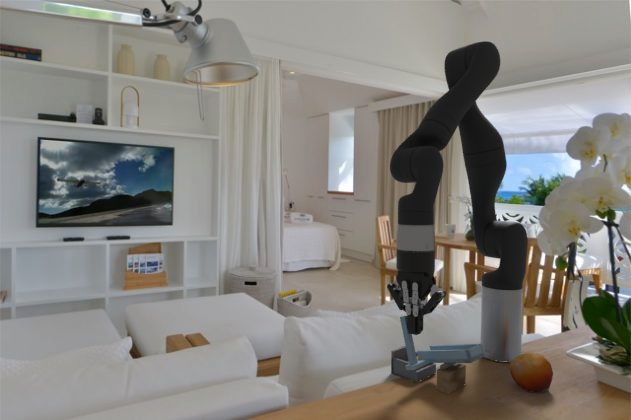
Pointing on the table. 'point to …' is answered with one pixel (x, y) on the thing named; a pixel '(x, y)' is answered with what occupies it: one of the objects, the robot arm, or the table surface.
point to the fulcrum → (451, 377)
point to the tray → (401, 360)
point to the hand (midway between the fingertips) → (415, 333)
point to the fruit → (531, 372)
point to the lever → (439, 351)
